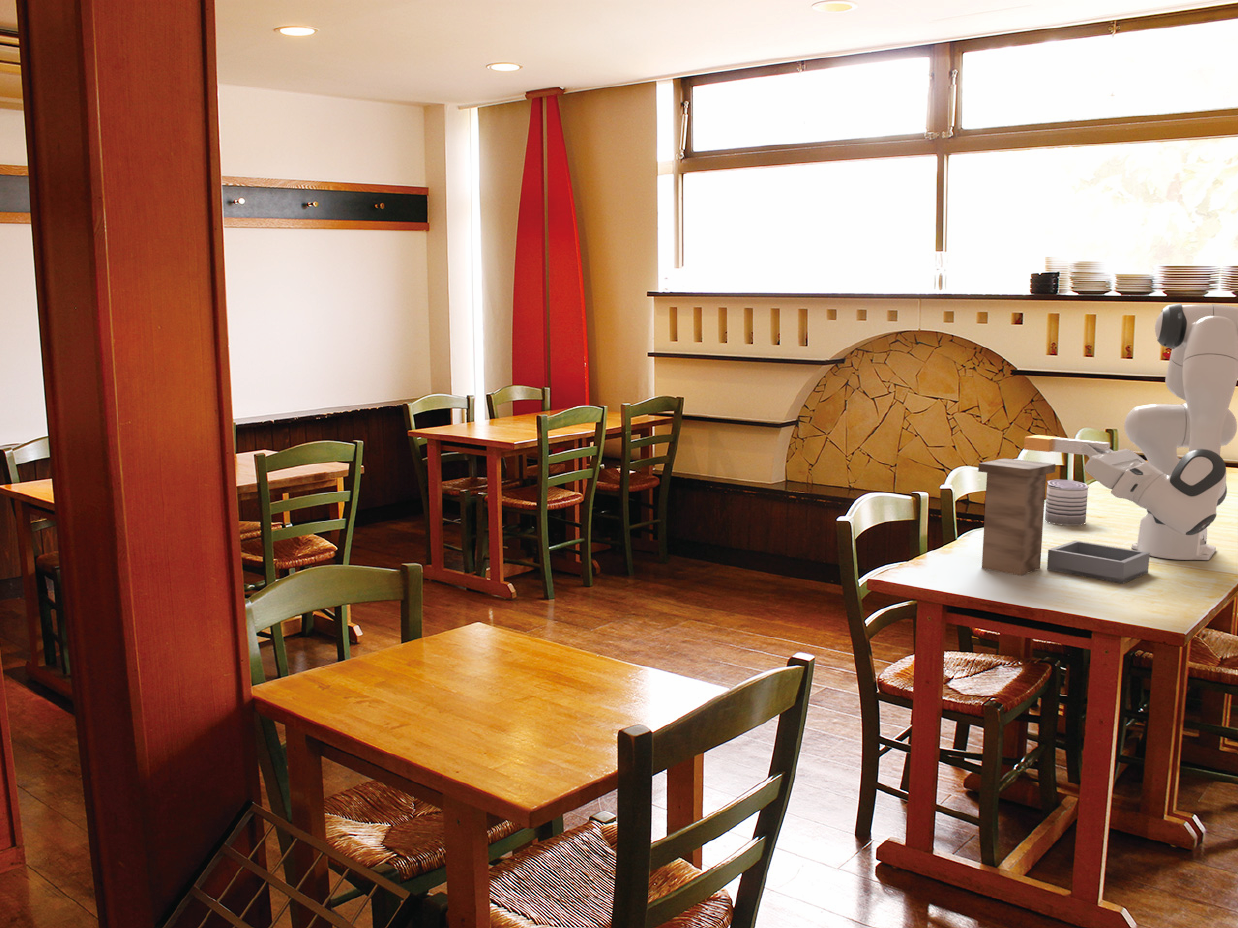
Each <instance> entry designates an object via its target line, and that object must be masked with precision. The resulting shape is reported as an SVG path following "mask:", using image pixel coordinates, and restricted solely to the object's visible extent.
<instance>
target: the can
mask: <svg viewBox="0 0 1238 928" xmlns="http://www.w3.org/2000/svg"><path fill="white" fill-rule="evenodd" d="M1046 482H1047V484H1046V495H1045V511H1044V512H1045V515H1044V521H1045V520H1046V521H1047V522H1050V523H1049V524H1052V523H1055V524H1054V525H1056V524H1062V525H1061V526H1066V525H1081V524H1084V523H1087V511H1088V510H1087V507H1088V506H1087V505H1088V493H1089V486H1088V484H1087V483H1084V482H1081V481H1076V480H1073V479H1072V480H1071V479H1057V478H1056V479H1051V480H1046ZM1046 521H1045V522H1046ZM1047 522H1046V523H1047ZM1084 525H1085V524H1084ZM1081 526H1082V525H1081Z"/></svg>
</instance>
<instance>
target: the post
mask: <svg viewBox="0 0 1238 928" xmlns="http://www.w3.org/2000/svg"><path fill="white" fill-rule="evenodd" d="M1056 466H1057V465H1056V463H1051V462H1040V461H1032V460H1024V459H1023V460H1022V459H1013V458H999V459H996V460H995V459H994V460H990V461H989V460H988V461H984V462H979V463H978V467H977V472H980V473H986V482H985V484H986V485H985V486H986V487H985V500H984V501H985V502H984V506H985V507H984V520H983V521H984V522H983V523H984V525H983V539H982V540H983V542H982V556H981V557H982V560H981V569H984V570H988V571H995V572H1000V573H1005V574H1009V575H1010V574H1011V575H1015V576H1019V577H1020V576H1021V577H1022V576H1024V575H1026V574H1029V573H1032V572H1035V571H1037V570H1040V569H1041V562H1042V559H1041V558H1042V548H1043V547H1042V546H1043V545H1042V543H1043V531H1044V530H1043V529H1044V527H1043V526H1044V516H1045V515H1044V512H1045V501H1046V485H1047V484H1046V482H1047V475H1049V474H1054V473H1056Z"/></svg>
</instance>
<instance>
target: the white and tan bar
mask: <svg viewBox="0 0 1238 928" xmlns="http://www.w3.org/2000/svg"><path fill="white" fill-rule="evenodd" d="M1086 444H1089V445H1091V446H1092V447H1094V450H1096V451H1097V452H1099V453H1101V454H1104V453H1109V452H1110V449H1111V442H1108V441H1096V440H1088V439H1087V440H1086V439H1077V438H1065V437H1062V436H1051V435H1043V434H1042V435H1041V434H1035V435H1034V434H1033V435H1029V436H1025V437H1024V444H1023V449H1024V450H1026V451H1035V452H1036V451H1037V452H1045V453H1051V452H1054V453H1061V454H1062V453H1064V454H1065V453H1066V454H1074V455H1082V456H1087V454H1085V453H1084V452H1083V451H1082V450H1081V449H1082V447H1083V446H1084V445H1086Z"/></svg>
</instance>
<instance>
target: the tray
mask: <svg viewBox="0 0 1238 928" xmlns="http://www.w3.org/2000/svg"><path fill="white" fill-rule="evenodd" d="M1149 565H1150V553H1149V552H1142V551H1138V550H1136V549H1130V548H1123V547H1118V546H1117V547H1116V546H1112V545H1106V544H1099V543H1092V542H1086V541H1080V540H1072V541H1070V542H1067V543H1064V544H1061V545H1058V546H1055V547H1052V548H1049V549H1048V550H1047V564H1046V570H1048V571H1051V572H1052V571H1053V572H1059V573H1064V574H1069V575H1072V576H1080V577H1083V578H1089V579H1095V580H1101V581H1107V582H1111V583H1118V584H1125V583H1127V582H1130V581H1132V580H1135V579H1137V578H1140V577H1142V576H1144V575H1146V574H1149Z"/></svg>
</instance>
